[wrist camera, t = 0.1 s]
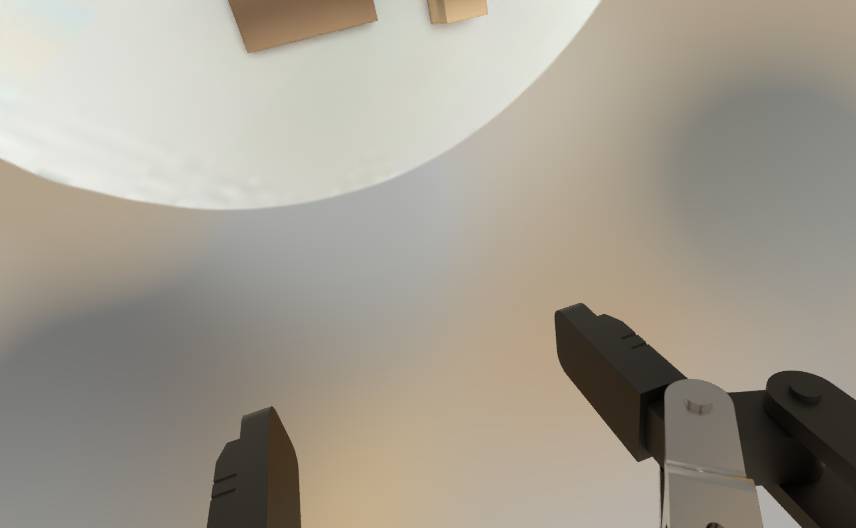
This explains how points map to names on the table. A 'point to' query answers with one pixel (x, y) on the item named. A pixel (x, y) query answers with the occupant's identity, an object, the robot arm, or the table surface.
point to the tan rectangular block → (455, 10)
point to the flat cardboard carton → (296, 19)
